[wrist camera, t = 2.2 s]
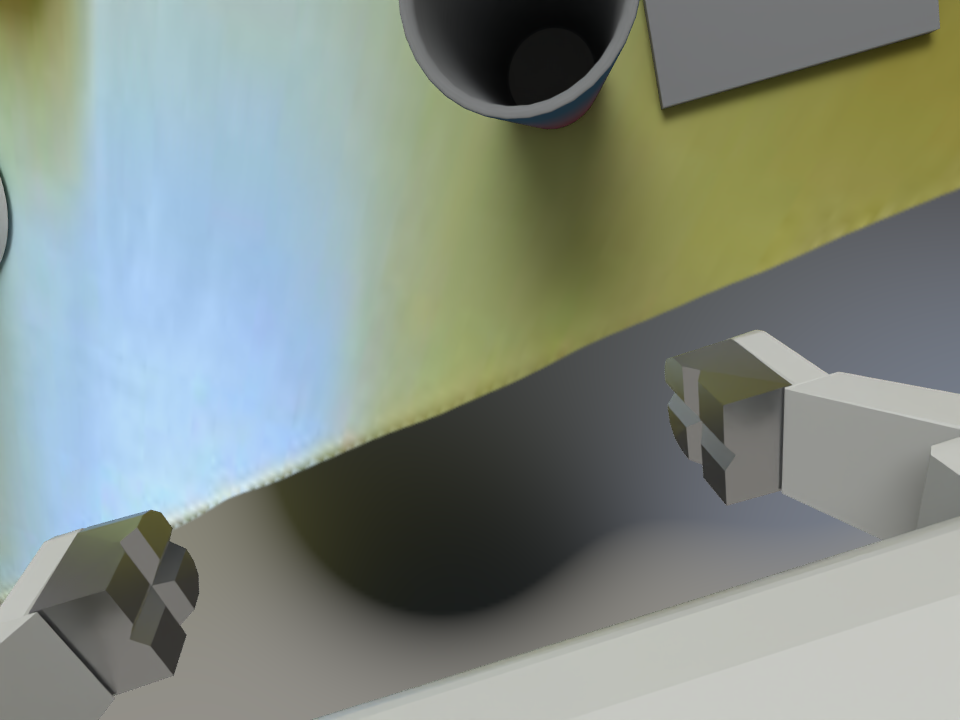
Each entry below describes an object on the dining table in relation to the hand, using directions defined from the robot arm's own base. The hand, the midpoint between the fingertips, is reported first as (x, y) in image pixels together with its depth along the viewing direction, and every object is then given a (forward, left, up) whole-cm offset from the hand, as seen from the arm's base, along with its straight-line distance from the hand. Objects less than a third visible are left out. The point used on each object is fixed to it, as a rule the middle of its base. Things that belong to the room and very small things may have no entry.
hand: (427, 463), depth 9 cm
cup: (+2, +9, -25) cm, 27 cm away
